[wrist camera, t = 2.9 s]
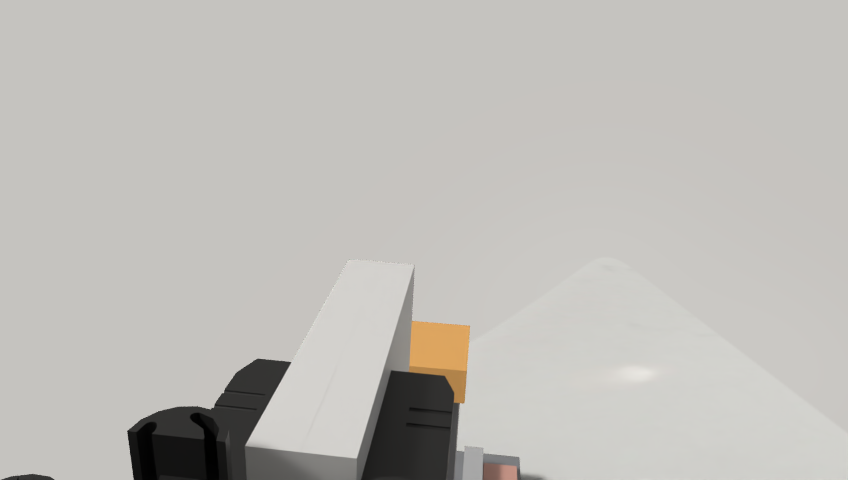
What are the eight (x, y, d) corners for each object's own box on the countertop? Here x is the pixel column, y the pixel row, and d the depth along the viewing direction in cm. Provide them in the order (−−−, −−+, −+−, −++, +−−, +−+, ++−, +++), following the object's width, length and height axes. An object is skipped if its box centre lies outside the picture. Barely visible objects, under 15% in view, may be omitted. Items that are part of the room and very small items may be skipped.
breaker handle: (454, 534, 30) (469, 325, 26) (450, 596, 27) (466, 370, 23) (383, 526, 31) (388, 318, 27) (371, 587, 28) (374, 362, 24)
